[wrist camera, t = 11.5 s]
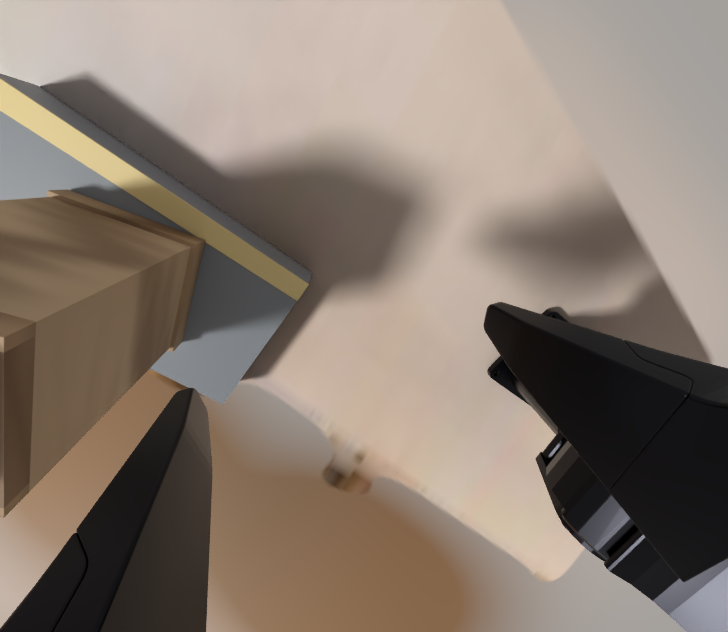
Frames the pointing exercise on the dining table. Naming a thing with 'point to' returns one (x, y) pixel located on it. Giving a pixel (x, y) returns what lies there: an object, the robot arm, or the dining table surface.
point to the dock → (163, 205)
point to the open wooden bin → (79, 321)
